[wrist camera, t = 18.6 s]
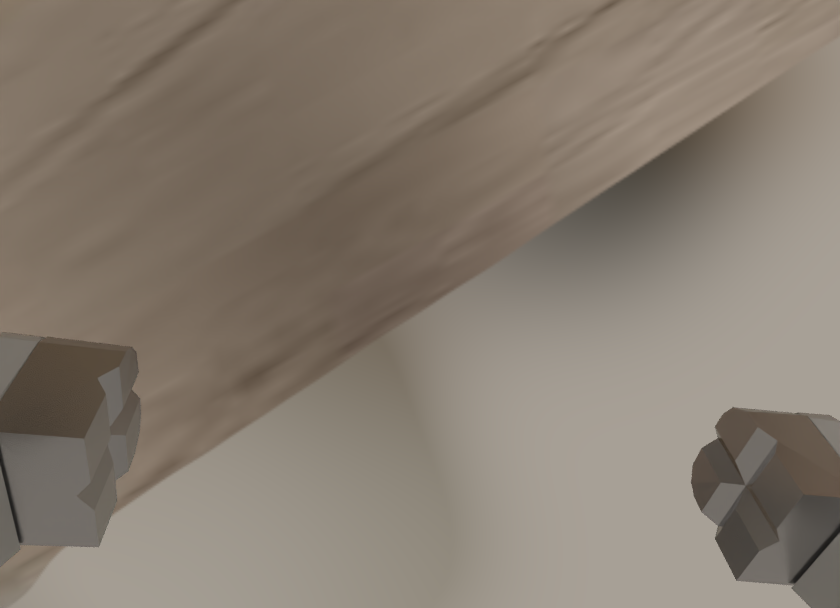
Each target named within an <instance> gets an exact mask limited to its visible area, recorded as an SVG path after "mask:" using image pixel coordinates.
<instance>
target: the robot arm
mask: <svg viewBox="0 0 840 608" xmlns="http://www.w3.org/2000/svg"><path fill="white" fill-rule="evenodd" d="M137 374H138V363H137V353H136V351H135V350H134V349H133V348H132V347H128V346H120V345H111V344H103V343H95V342H87V341H79V340H70V339H62V338H54V337H47V338H45V337H40V336H32V335H23V334H15V333H7V332H2V333H0V567H1V566H2V565H3V564H4V563H5V562H6V561H8V560H9V559H10V558H11V557H12V556H13V555H15V554H16V553H17V552H18V551H19V550H20V545H41V546H80V547H99V546H100V543H101V540H102V538H103V535H104V533H105V530H106V527H107V525H108V523H109V520H110V517H111V515H112V512H113V510H114V507H115V505H116V502H117V494H116V483H115V480H117V479H118V478H120V477H121V476H122V475H124V474H125V473H126V472H128V471H129V468H130V465H131V462H132V459H133V457H134V454H135V450H136V445H137V441H138V436H139V431H140V419H141V405H140V398H139V397H138V396H137V395H136V394H135V393H134V392H133V391H132V390H131V389H132V386H133V384H134V382H135V379H136V377H137ZM715 429H716V433H717V437H718V438H717V439H716V440H714V441H713V442H711V443H709V444H708V445H706V446H704V447H703V448H702V449H701V451H700V452H699V454H698V456H697V458H696V460H695V462H694V463H693V469H692V480H691V484H692V488H693V493H694V497H695V499H696V501H697V504H698V506H699V508H700V510H701V512H702V513H704V514H705V515H706V516H707V517H708V518H709V519H710V520H712V521H713V522H714V523H715V524H716V525H718V528H717V532H716V537H715V540H716V542H717V543H718V545H719V547H720V549H721V551H722V553H723V555H724V557H725V559H726V561H727V563H728V565H729V567H730V569H731V570H732V573H733V575H734V577H735V579H736V580H737V581H746V582H759V583H771V584H782V585H794V586H793V587H792V589H793V590H794V591H795V592H796V593H797V594H798V595H799V596H800V597H801V598H802V599H803V600H804V601H805V602H806V603H807V604H808V605H809V606H810V607H811V608H840V421H839V420H837V419H835V418H834V417H832V416H830V415H822V414H809V413H789V412H777V411H767V410H755V409H746V408H734V407H733V408H732V409H730V410H728V411H727V412H725V413H724V414H723V415H722V416H721V418H720V419H719V421H718V423H717V425H716V426H715Z"/></svg>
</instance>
